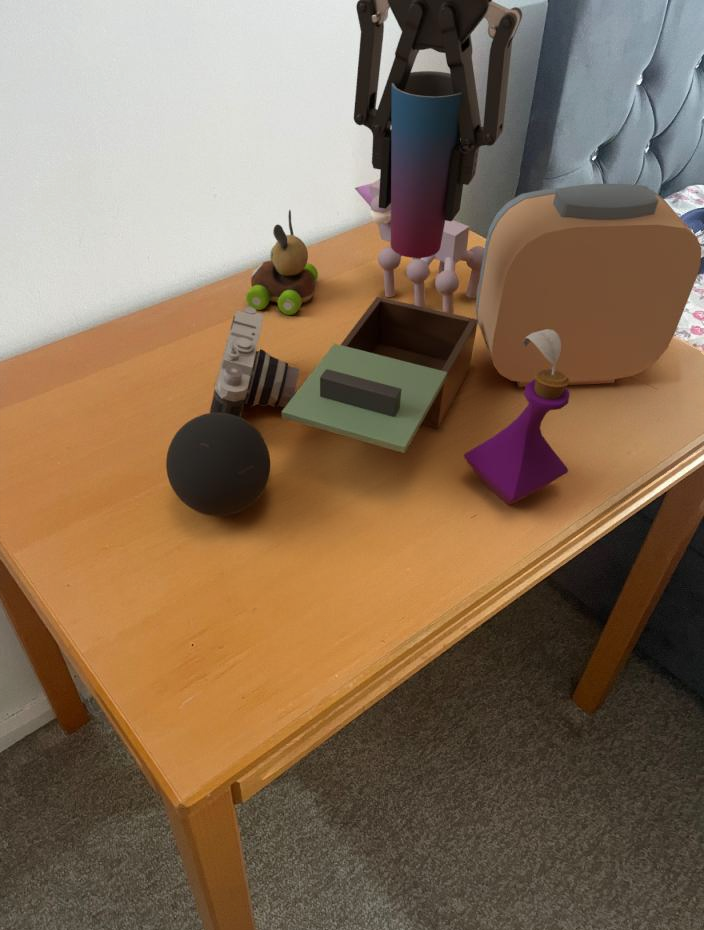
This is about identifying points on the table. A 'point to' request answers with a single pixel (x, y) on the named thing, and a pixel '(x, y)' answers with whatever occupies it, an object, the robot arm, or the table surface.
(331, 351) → the sliding lid
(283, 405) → the camera
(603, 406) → the table surface
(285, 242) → the toy car
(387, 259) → the pink legged piece
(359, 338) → the walnut box
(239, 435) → the speaker
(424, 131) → the cup
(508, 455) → the perfume bottle
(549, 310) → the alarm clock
